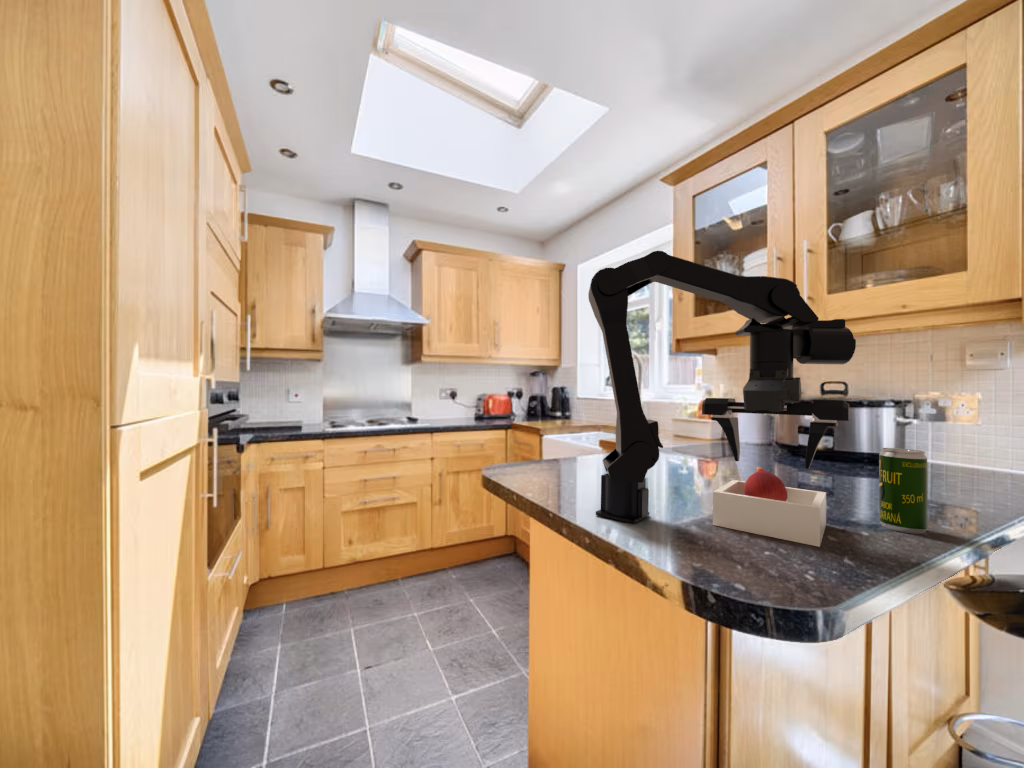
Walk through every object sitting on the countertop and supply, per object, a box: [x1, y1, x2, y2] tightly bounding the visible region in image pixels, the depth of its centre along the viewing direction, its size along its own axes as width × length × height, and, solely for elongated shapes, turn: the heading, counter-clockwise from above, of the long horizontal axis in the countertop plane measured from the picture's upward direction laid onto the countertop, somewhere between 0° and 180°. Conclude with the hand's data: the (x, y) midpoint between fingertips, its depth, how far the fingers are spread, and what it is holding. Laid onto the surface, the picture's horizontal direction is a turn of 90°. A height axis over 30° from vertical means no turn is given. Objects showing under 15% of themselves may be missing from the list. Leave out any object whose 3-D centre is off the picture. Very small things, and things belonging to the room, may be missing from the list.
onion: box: [744, 466, 787, 502], centre depth 66 cm, size 6×6×8 cm
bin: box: [712, 479, 827, 548], centre depth 63 cm, size 13×13×5 cm
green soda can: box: [878, 447, 929, 535], centre depth 63 cm, size 5×5×12 cm
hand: (770, 464), depth 63 cm, fingers open, 9 cm apart
